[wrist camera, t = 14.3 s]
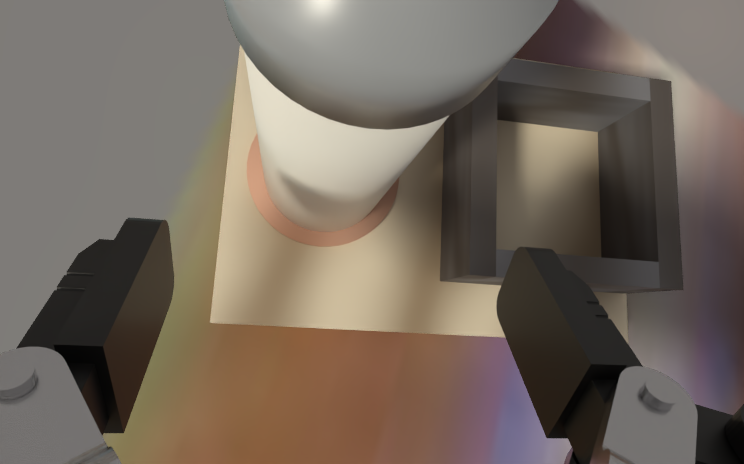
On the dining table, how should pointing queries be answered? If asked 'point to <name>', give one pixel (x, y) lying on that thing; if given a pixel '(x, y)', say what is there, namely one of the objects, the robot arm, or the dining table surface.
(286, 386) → the dining table surface
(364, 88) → the cylinder
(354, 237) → the socket board
